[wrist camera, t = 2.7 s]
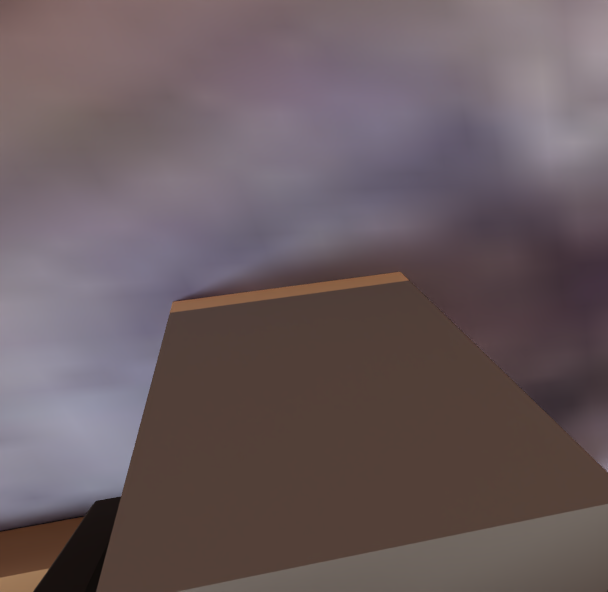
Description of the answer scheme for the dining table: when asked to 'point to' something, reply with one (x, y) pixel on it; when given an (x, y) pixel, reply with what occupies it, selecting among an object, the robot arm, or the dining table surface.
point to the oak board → (31, 553)
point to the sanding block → (348, 456)
